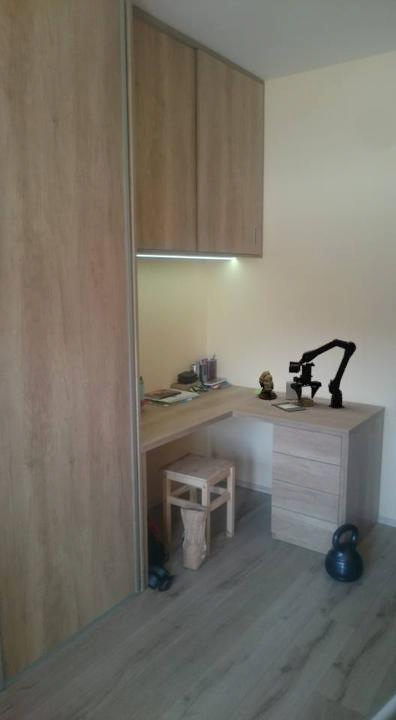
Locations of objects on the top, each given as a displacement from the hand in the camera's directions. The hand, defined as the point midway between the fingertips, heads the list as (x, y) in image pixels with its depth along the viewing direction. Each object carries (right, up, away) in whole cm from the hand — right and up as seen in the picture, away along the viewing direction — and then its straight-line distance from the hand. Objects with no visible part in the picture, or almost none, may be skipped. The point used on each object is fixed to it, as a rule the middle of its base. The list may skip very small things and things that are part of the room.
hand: (305, 399), depth 310 cm
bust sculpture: (-20, 0, +21) cm, 29 cm away
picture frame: (-11, -4, -4) cm, 13 cm away
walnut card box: (0, -4, 0) cm, 4 cm away
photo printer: (-4, -1, +16) cm, 17 cm away
